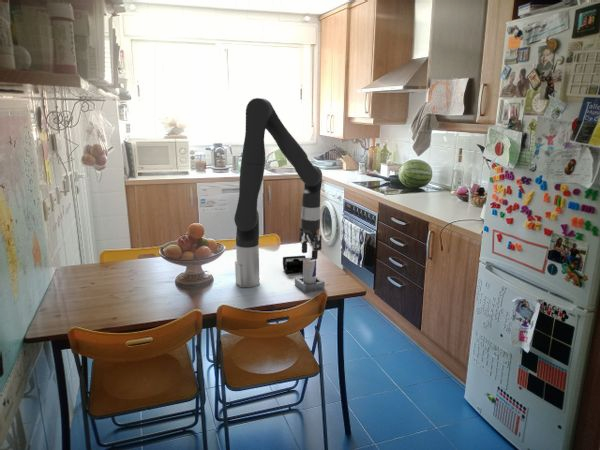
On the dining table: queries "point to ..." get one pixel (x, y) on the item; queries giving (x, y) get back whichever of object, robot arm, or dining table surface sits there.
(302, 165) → the robot arm
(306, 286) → the metal collar
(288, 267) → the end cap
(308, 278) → the energy drink
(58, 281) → the dining table surface
